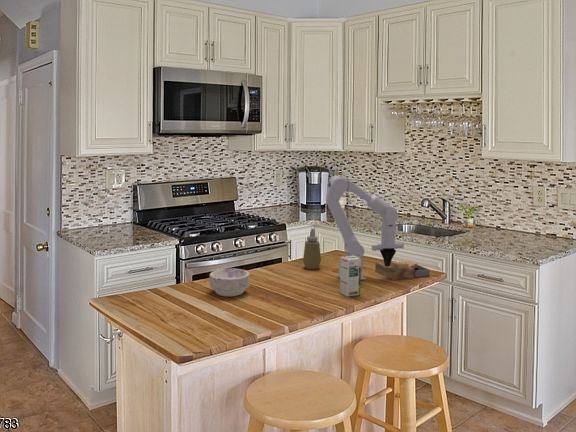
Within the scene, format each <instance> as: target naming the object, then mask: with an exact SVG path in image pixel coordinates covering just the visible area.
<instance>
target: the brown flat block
mask: <svg viewBox="0 0 576 432" xmlns="http://www.w3.org/2000/svg"><path fill="white" fill-rule="evenodd" d="M392 262H398V261H397V260H392V261H391V264H390V266H389V267H387V266H385V264H384V261H379V262H378V261H377V262H375V273H378V274H380V275H382V276H384V277H386V278H388V279H390V280H392V281H397V280H406V279H415V278H414V269H413V268H411V267H409V268H403V269H397V268H395V267H393V266H392Z"/></svg>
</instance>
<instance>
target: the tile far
mask: <svg viewBox="0 0 576 432" xmlns="http://www.w3.org/2000/svg"><path fill="white" fill-rule="evenodd" d="M406 262H407V263H408V264H409V267H411V268H413V269H415V268H417V267H418V266H417V265H418V263H417V262H414V261H412V260H409V261H406Z"/></svg>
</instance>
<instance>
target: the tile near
mask: <svg viewBox="0 0 576 432" xmlns="http://www.w3.org/2000/svg"><path fill="white" fill-rule="evenodd" d="M405 262H406V261H403V260H402V261H401V260H400V261H397V262H392V266H393V267H395V268H397V269H403V268H409V264H408V263H405Z"/></svg>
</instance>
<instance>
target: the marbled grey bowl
mask: <svg viewBox="0 0 576 432" xmlns="http://www.w3.org/2000/svg"><path fill="white" fill-rule="evenodd" d="M250 276H251V275H250V272H249V271H247V270H246V269H242V268H241V269H240V268H222V269H217V270H213V271H211V272H210V273H209V287H210V289H212V290H214V291H215V294H217V295H218V296H221V297H236V296H240V295H242V294H243V293H244V291H245V290H246V289H248V288H249V287H250V285H251V283H250V282H251V281H250V280H251V279H250Z"/></svg>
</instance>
